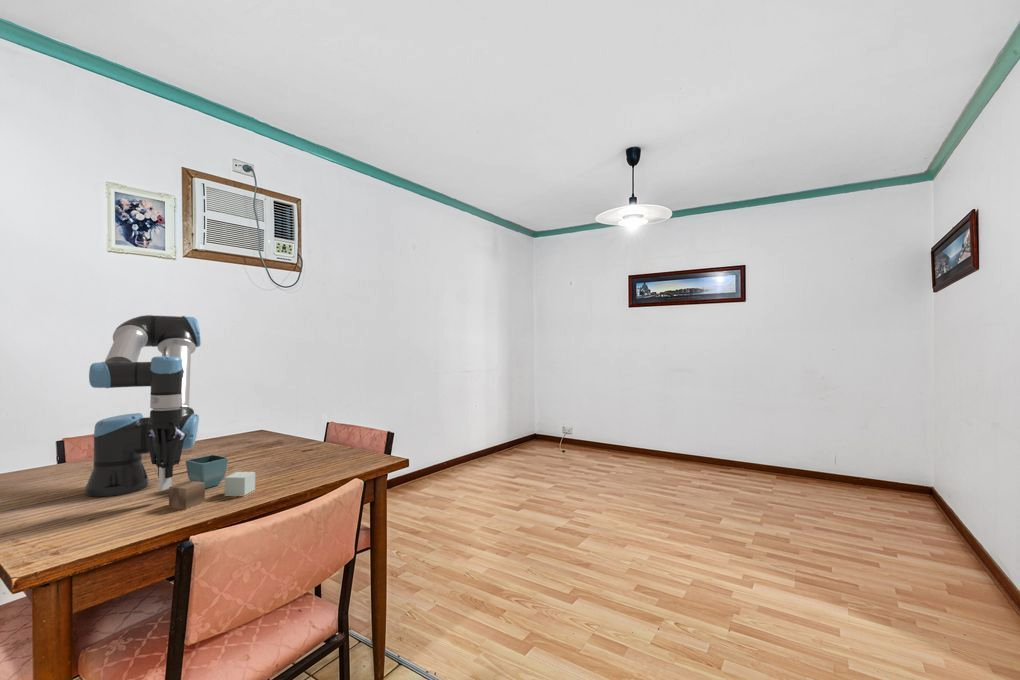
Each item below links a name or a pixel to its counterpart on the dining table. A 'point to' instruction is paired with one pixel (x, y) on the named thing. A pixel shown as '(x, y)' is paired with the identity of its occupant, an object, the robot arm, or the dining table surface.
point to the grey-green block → (239, 483)
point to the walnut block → (186, 494)
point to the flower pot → (207, 469)
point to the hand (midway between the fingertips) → (165, 488)
